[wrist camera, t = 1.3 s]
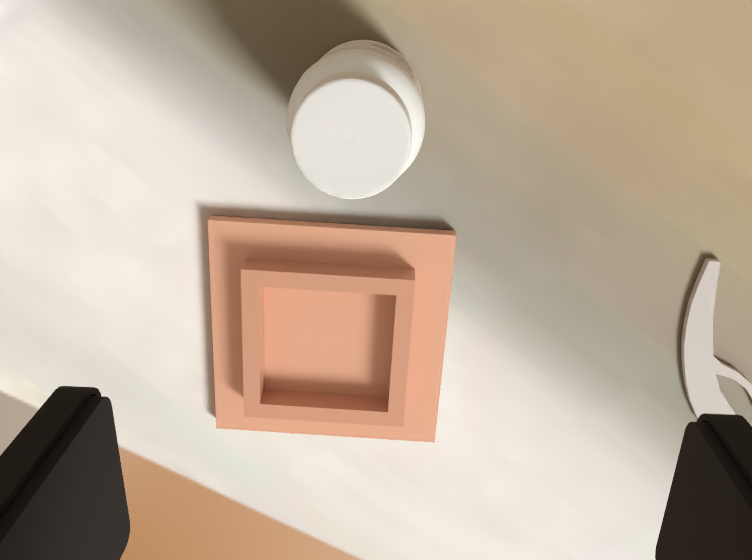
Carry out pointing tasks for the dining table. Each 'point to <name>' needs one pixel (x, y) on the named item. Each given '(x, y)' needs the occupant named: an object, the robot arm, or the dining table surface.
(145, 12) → the dining table surface
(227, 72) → the dining table surface
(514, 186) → the dining table surface
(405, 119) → the pill bottle
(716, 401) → the pliers
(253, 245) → the rest
